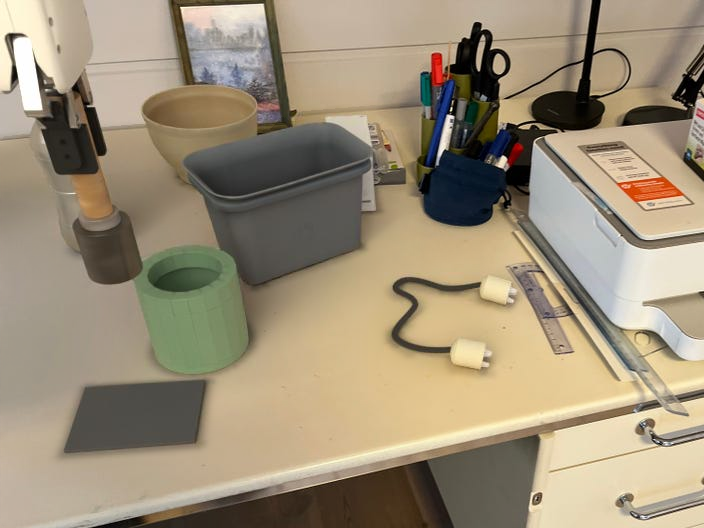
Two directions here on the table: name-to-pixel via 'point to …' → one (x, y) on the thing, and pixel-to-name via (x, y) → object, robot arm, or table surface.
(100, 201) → the brush
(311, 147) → the storage bin
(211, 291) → the jar
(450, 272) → the table surface
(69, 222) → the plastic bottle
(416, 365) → the table surface
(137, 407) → the mat
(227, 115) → the planter bowl
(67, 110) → the robot arm
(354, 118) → the cosmetics box
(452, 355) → the cable
